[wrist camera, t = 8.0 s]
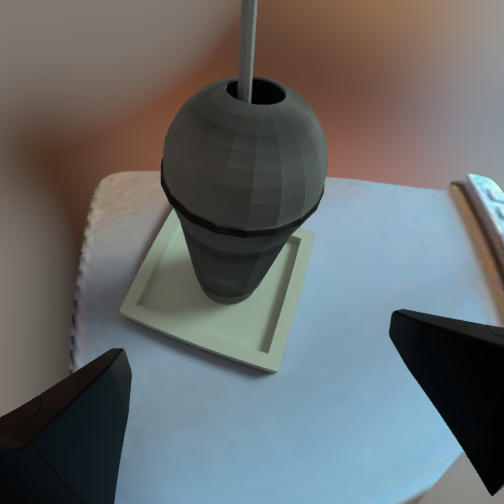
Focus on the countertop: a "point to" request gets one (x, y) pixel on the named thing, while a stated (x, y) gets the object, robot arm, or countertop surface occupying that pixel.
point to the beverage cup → (242, 173)
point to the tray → (215, 314)
